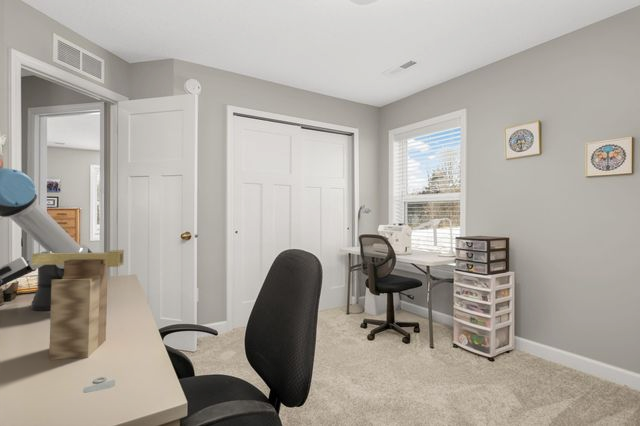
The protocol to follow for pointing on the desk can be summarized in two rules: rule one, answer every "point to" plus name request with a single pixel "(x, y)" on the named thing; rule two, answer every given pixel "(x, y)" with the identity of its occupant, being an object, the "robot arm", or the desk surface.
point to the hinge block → (78, 309)
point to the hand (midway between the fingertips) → (39, 258)
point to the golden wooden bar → (79, 258)
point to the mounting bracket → (100, 385)
